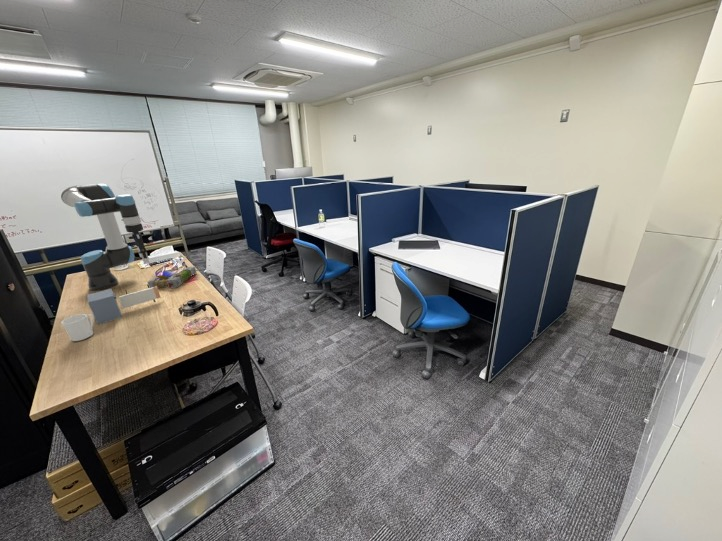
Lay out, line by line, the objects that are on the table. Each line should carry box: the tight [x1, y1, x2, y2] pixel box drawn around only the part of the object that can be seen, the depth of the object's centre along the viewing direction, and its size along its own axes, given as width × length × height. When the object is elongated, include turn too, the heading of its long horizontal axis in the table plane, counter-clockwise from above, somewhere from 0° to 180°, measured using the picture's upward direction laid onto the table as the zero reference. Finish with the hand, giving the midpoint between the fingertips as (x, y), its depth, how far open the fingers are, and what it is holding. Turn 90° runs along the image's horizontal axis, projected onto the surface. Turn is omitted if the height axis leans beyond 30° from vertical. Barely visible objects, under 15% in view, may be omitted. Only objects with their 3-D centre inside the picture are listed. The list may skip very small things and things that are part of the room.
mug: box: [60, 313, 94, 343], centre depth 138 cm, size 11×9×10 cm
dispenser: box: [87, 288, 122, 325], centre depth 154 cm, size 12×11×13 cm
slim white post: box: [118, 286, 161, 309], centre depth 164 cm, size 1×18×7 cm, turn 133°
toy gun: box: [147, 266, 199, 289], centre depth 196 cm, size 7×27×20 cm
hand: (145, 260), depth 167 cm, fingers open, 13 cm apart
